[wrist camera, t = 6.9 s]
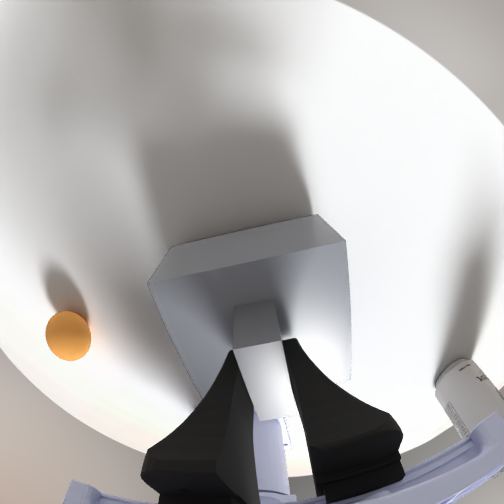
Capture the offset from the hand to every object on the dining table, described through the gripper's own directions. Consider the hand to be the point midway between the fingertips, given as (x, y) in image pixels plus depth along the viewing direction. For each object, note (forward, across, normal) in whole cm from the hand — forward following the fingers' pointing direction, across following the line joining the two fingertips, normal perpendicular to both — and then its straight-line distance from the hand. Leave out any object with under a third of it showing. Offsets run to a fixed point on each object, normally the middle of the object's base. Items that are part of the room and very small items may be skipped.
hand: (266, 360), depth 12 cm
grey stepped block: (+6, 0, 0) cm, 6 cm away
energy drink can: (+7, -20, +17) cm, 27 cm away
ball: (+5, +15, 0) cm, 16 cm away
